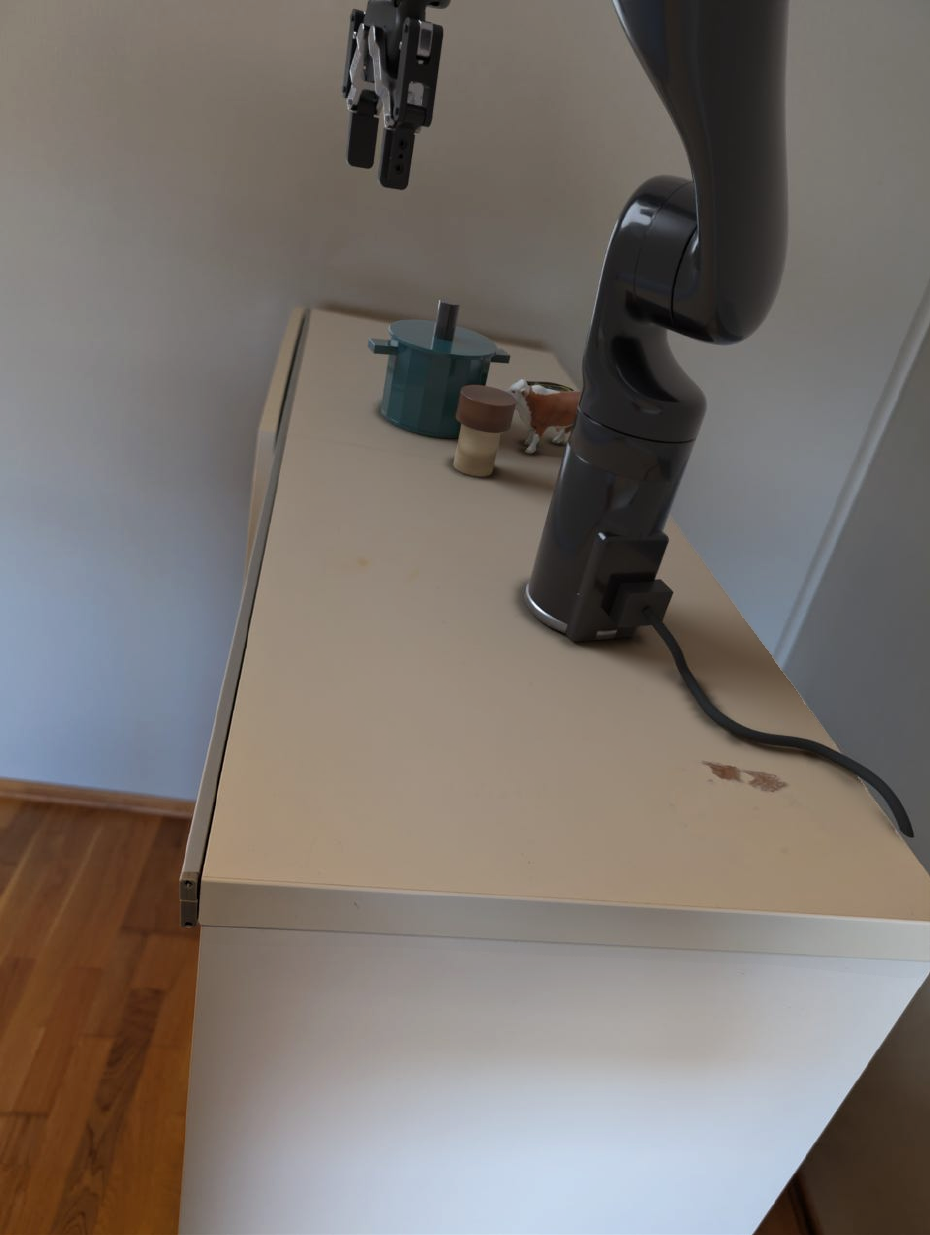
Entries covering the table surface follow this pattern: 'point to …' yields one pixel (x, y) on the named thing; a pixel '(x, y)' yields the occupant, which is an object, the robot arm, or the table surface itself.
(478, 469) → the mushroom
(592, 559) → the robot arm
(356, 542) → the table surface
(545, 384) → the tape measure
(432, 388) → the pot
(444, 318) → the pot lid
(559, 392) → the bull figurine
